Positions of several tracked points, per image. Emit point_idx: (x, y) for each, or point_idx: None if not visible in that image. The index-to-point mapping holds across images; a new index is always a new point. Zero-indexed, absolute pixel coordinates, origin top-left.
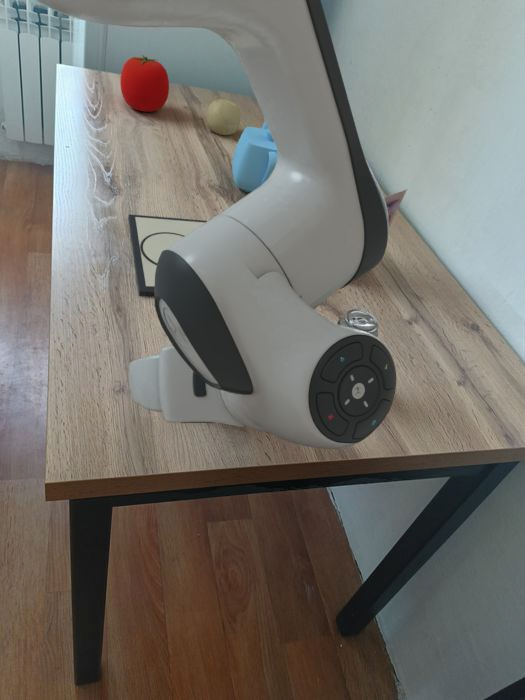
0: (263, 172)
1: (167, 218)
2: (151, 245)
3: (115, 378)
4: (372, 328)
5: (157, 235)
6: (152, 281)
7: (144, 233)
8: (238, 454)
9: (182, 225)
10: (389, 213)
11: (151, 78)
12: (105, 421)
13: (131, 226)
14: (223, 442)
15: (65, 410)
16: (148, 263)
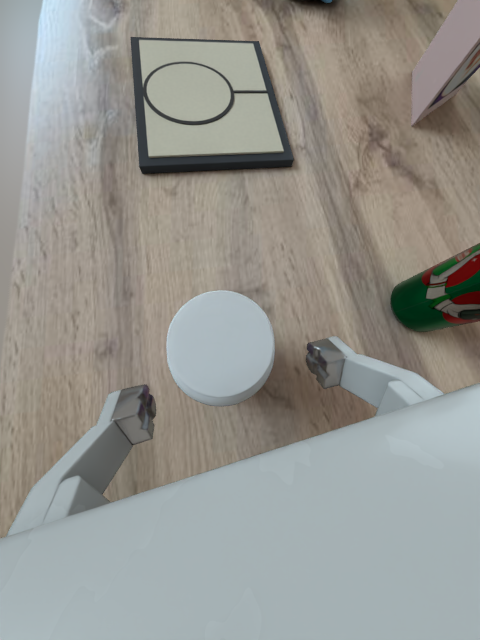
0: None
1: (184, 40)
2: (159, 85)
3: (99, 329)
4: None
5: (168, 67)
6: (158, 147)
7: (150, 66)
8: None
9: (204, 49)
10: None
11: None
12: (79, 417)
13: (133, 56)
14: (260, 435)
15: (16, 402)
16: (153, 116)
